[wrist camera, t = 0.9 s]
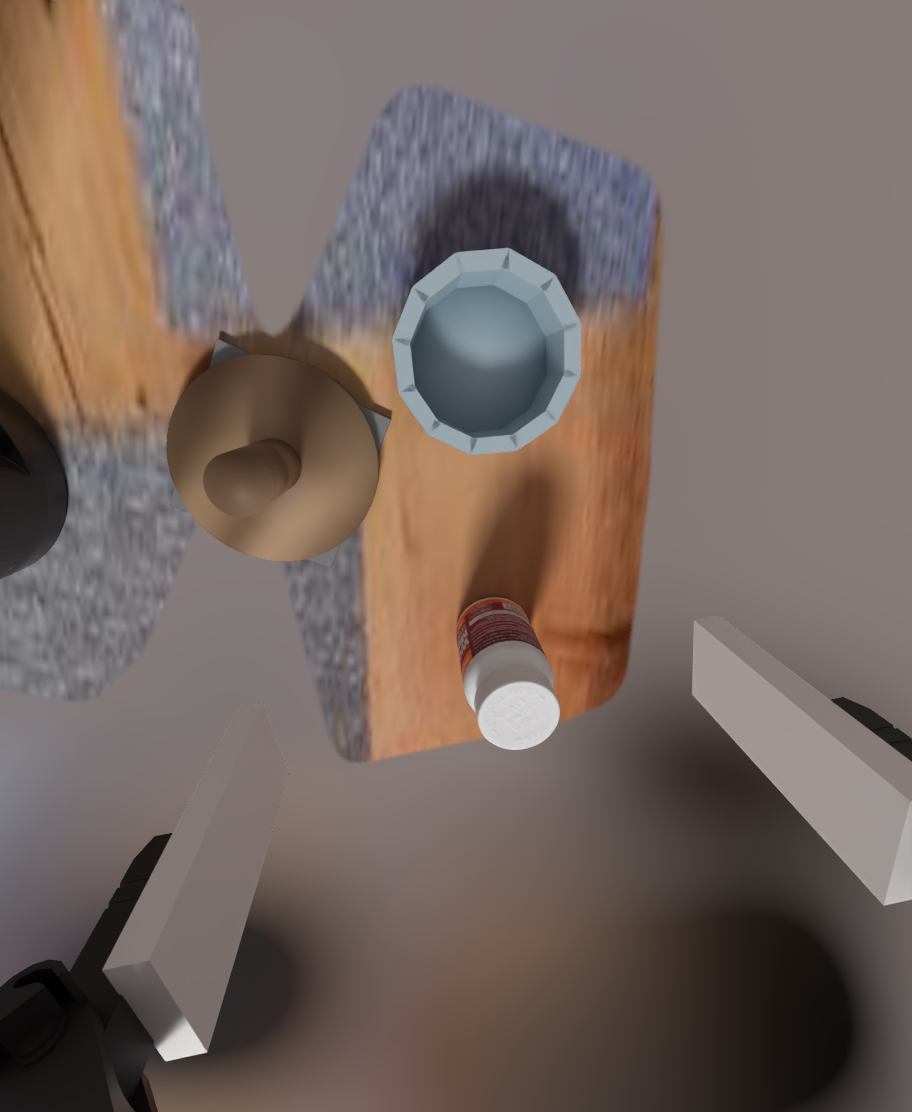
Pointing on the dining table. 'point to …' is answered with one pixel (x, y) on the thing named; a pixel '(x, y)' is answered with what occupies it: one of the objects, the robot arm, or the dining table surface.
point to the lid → (272, 457)
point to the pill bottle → (506, 674)
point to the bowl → (487, 351)
